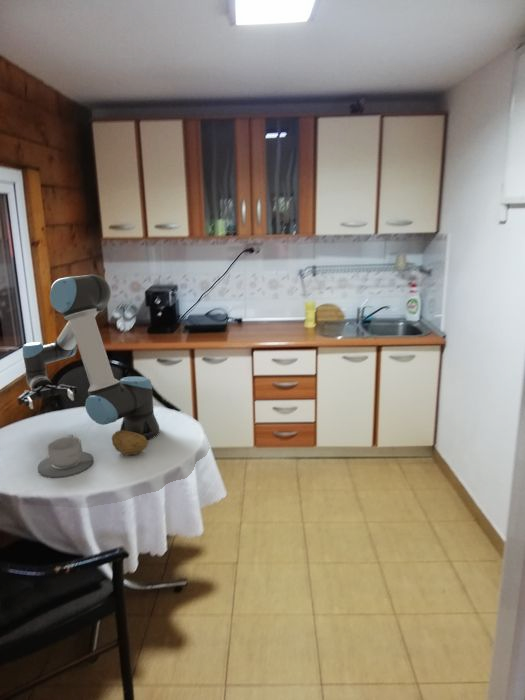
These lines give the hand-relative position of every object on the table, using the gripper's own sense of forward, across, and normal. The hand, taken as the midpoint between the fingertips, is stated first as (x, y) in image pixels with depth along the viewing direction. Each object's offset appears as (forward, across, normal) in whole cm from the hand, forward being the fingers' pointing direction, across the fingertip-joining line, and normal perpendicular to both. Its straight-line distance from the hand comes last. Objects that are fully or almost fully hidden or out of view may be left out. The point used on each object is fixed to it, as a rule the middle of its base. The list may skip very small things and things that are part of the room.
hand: (52, 401), depth 174 cm
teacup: (+10, -1, -20) cm, 22 cm away
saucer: (+10, 0, -21) cm, 23 cm away
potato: (+14, -22, -21) cm, 33 cm away
